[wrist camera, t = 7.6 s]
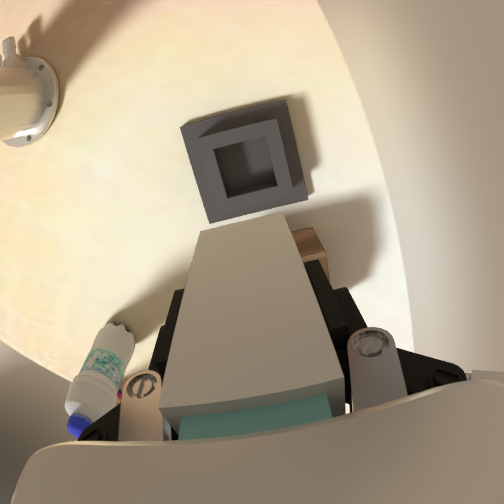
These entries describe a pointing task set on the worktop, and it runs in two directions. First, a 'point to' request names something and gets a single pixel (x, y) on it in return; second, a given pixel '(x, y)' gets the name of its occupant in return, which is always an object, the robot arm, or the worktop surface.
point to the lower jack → (245, 161)
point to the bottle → (99, 378)
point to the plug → (249, 338)
